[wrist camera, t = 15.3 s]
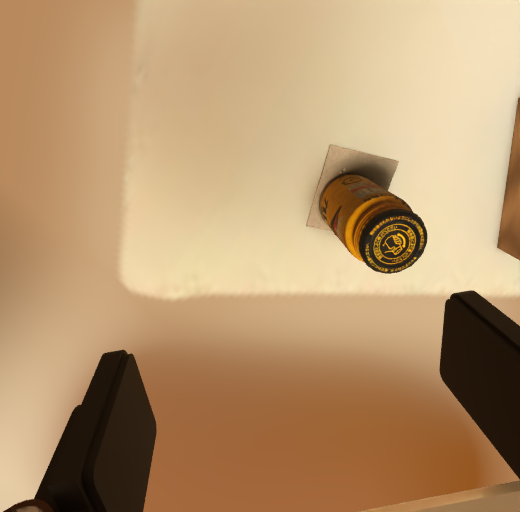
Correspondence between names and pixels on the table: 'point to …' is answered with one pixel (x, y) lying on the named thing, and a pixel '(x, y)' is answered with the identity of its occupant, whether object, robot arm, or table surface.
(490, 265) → the table surface
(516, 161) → the socket block
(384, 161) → the condiment
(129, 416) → the robot arm
